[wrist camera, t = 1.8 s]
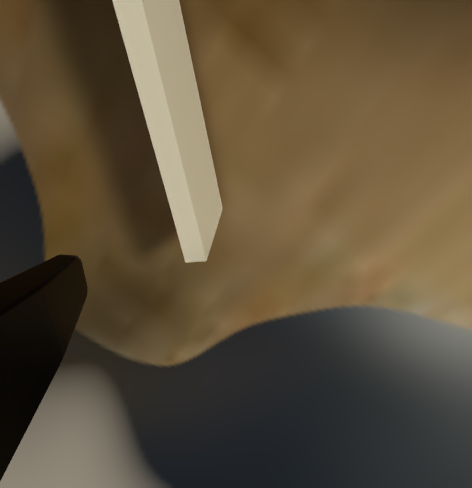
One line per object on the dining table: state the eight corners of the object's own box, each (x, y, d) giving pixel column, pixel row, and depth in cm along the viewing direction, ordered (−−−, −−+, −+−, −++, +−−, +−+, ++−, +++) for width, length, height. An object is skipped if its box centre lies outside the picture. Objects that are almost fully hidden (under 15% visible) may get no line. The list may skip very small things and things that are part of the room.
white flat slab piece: (84, -314, 13) (-22, -452, 9) (115, -325, 13) (21, -472, 8) (205, 207, 22) (182, 266, 18) (224, 205, 22) (206, 265, 18)
